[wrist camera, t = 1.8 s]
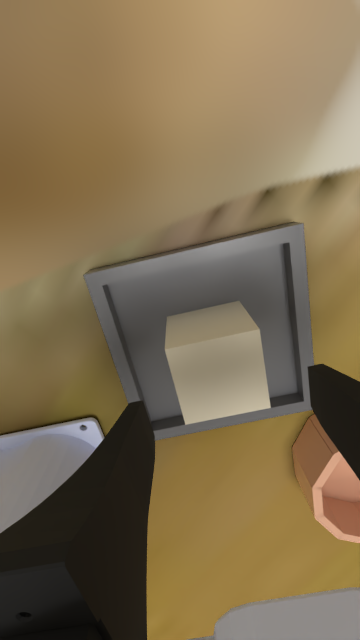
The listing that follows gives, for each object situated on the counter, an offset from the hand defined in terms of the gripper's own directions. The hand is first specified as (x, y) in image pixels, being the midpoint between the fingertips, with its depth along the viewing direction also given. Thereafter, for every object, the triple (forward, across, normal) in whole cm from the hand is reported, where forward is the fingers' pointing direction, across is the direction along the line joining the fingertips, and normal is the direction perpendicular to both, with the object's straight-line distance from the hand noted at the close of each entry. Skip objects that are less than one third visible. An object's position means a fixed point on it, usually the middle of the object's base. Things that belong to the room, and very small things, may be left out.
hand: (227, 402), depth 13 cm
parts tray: (+7, 0, 0) cm, 7 cm away
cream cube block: (+6, 0, 0) cm, 6 cm away
